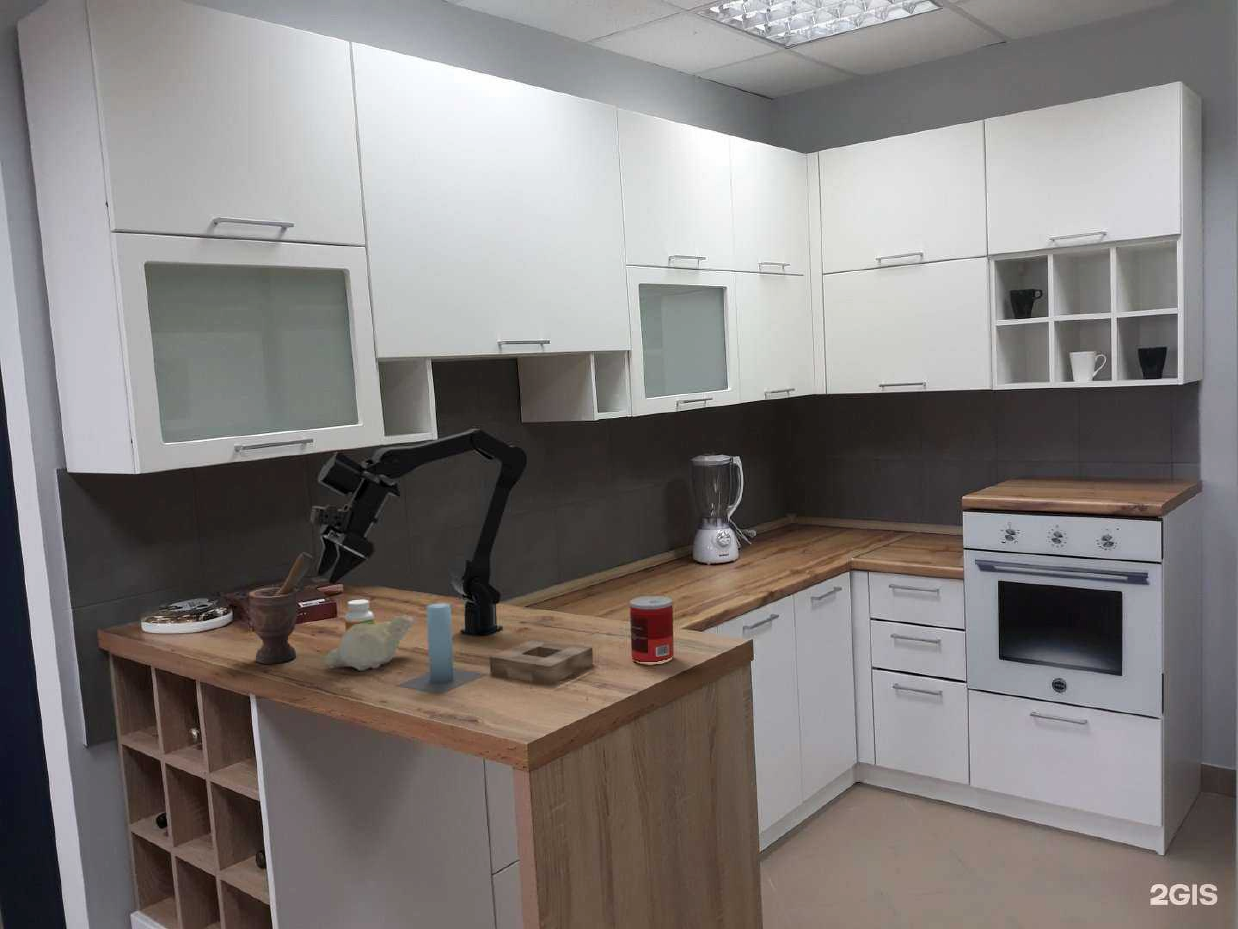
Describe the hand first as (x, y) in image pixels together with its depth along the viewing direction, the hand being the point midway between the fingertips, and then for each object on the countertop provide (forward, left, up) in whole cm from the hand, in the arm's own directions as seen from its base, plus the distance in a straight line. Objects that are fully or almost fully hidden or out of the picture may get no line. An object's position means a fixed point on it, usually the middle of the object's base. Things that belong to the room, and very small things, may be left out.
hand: (324, 579), depth 190 cm
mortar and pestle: (+5, -7, -15) cm, 17 cm away
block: (-10, +43, -15) cm, 47 cm away
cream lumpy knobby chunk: (0, +12, -15) cm, 19 cm away
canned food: (-25, +57, -15) cm, 64 cm away
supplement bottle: (-5, +3, -15) cm, 16 cm away
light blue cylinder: (+3, +31, -15) cm, 34 cm away
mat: (+3, +31, -15) cm, 34 cm away
